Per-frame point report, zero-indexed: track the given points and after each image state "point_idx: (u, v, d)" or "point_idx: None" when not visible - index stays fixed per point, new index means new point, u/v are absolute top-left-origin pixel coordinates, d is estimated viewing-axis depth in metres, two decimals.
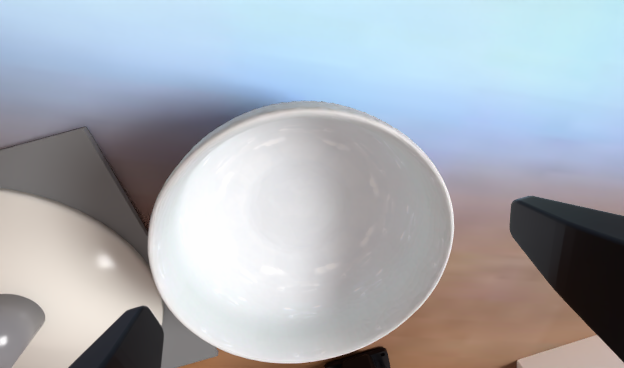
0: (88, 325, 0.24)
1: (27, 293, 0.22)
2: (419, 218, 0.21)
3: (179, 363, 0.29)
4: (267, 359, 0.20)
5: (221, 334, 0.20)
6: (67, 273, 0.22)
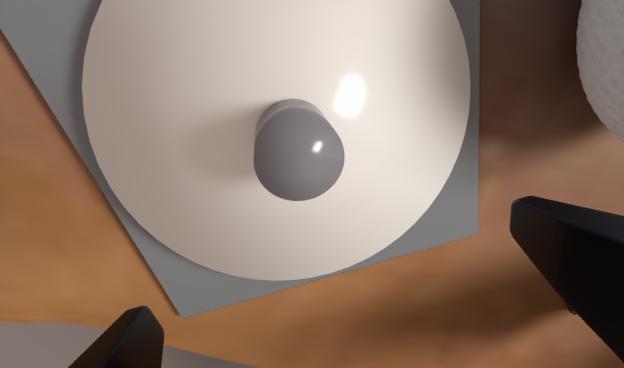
0: (371, 164, 0.18)
1: (322, 101, 0.16)
2: None
3: (432, 242, 0.23)
4: None
5: None
6: (380, 71, 0.16)
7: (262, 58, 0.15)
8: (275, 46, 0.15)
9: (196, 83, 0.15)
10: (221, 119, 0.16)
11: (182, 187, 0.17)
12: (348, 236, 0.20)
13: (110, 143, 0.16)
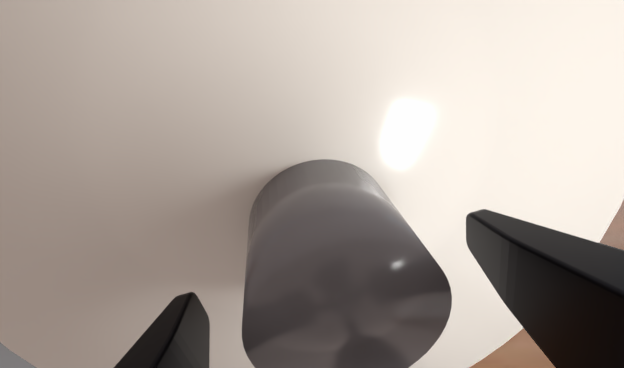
0: (454, 261, 0.10)
1: (378, 162, 0.08)
2: None
3: None
4: None
5: None
6: (495, 106, 0.08)
7: (264, 82, 0.07)
8: (291, 58, 0.07)
9: (124, 134, 0.07)
10: (182, 199, 0.08)
11: (115, 313, 0.09)
12: None
13: None
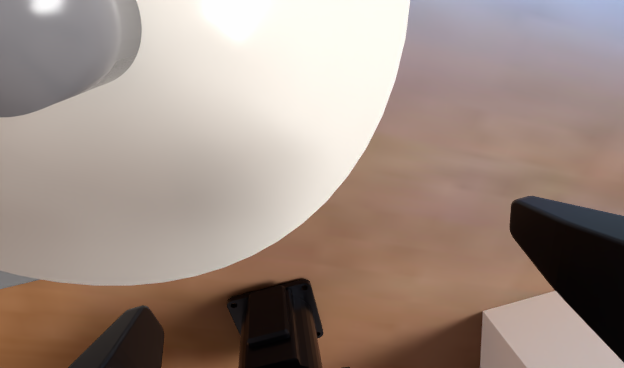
0: (235, 84, 0.10)
1: None
2: None
3: (12, 280, 0.21)
4: None
5: None
6: None
7: None
8: None
9: None
10: None
11: None
12: (214, 217, 0.12)
13: None
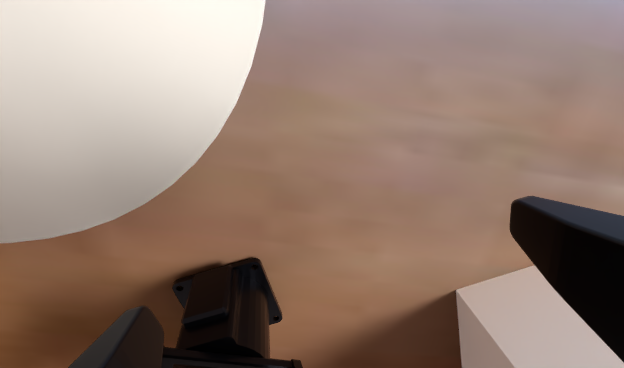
0: None
1: None
2: None
3: None
4: None
5: None
6: None
7: None
8: None
9: None
10: None
11: None
12: (88, 157, 0.11)
13: None
